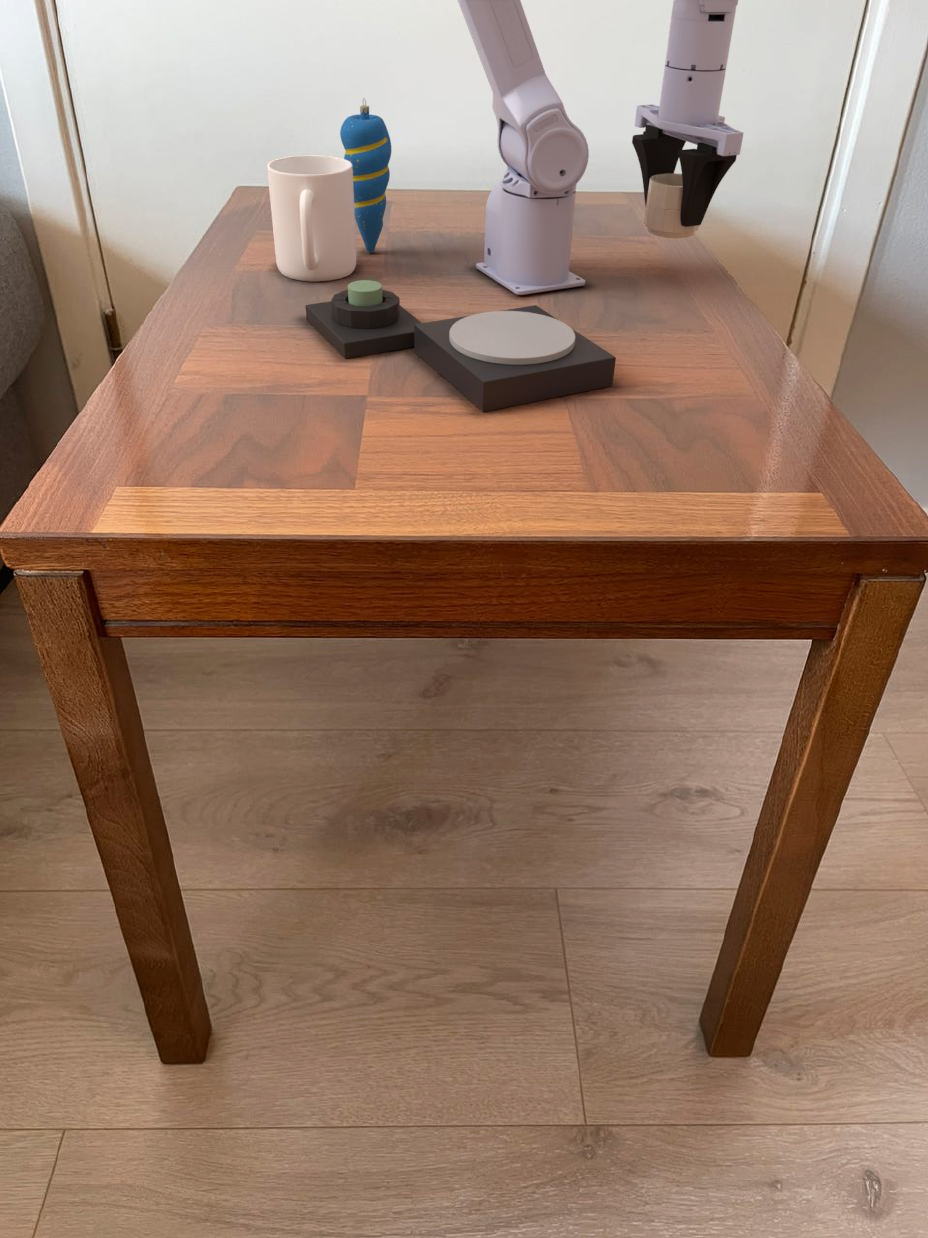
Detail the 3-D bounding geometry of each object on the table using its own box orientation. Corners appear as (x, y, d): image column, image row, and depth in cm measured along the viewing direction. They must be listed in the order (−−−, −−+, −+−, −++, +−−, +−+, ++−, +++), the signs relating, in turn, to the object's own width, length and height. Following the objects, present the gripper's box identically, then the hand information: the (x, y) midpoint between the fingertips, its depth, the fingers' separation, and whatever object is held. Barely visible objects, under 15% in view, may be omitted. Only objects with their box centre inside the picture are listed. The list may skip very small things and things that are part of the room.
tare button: (343, 299, 87) (342, 282, 86) (374, 295, 88) (374, 278, 87) (355, 310, 85) (355, 293, 84) (387, 305, 86) (387, 288, 85)
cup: (358, 256, 105) (354, 155, 99) (353, 295, 96) (348, 185, 89) (281, 256, 105) (272, 153, 99) (268, 294, 95) (256, 184, 89)
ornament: (357, 261, 104) (350, 104, 95) (339, 248, 107) (330, 95, 98) (401, 255, 106) (398, 101, 97) (382, 242, 109) (377, 92, 100)
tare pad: (306, 319, 90) (303, 287, 88) (386, 307, 93) (385, 275, 91) (345, 358, 83) (343, 324, 81) (430, 344, 86) (430, 311, 84)
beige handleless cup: (633, 226, 102) (639, 175, 99) (676, 221, 104) (684, 171, 101) (664, 241, 98) (672, 188, 95) (709, 235, 100) (718, 183, 97)
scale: (414, 352, 85) (413, 317, 83) (534, 331, 89) (536, 297, 87) (482, 412, 75) (483, 374, 74) (612, 386, 80) (617, 349, 78)
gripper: (780, 76, 88) (749, 231, 97) (683, 53, 99) (663, 195, 107) (717, 80, 86) (692, 239, 94) (625, 56, 96) (609, 202, 104)
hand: (673, 217), depth 100 cm, fingers closed on beige handleless cup, 5 cm apart
